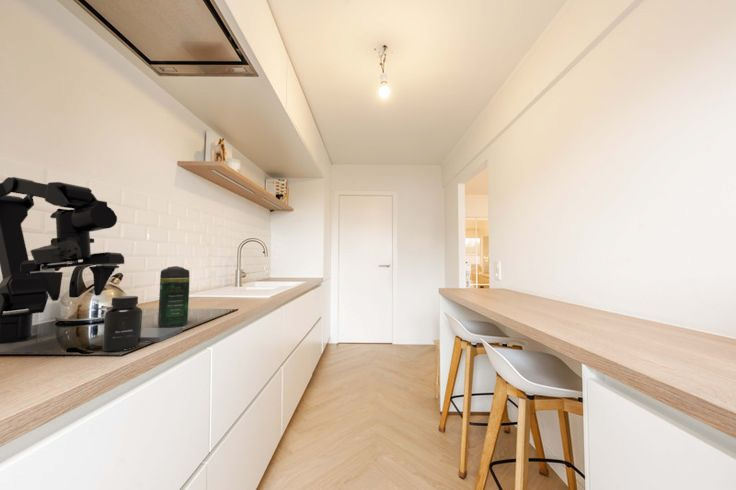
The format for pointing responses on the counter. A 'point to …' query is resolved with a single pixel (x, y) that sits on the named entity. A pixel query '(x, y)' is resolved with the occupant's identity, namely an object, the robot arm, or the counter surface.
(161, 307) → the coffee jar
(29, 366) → the counter surface
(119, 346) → the supplement bottle
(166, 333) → the coaster
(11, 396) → the counter surface
